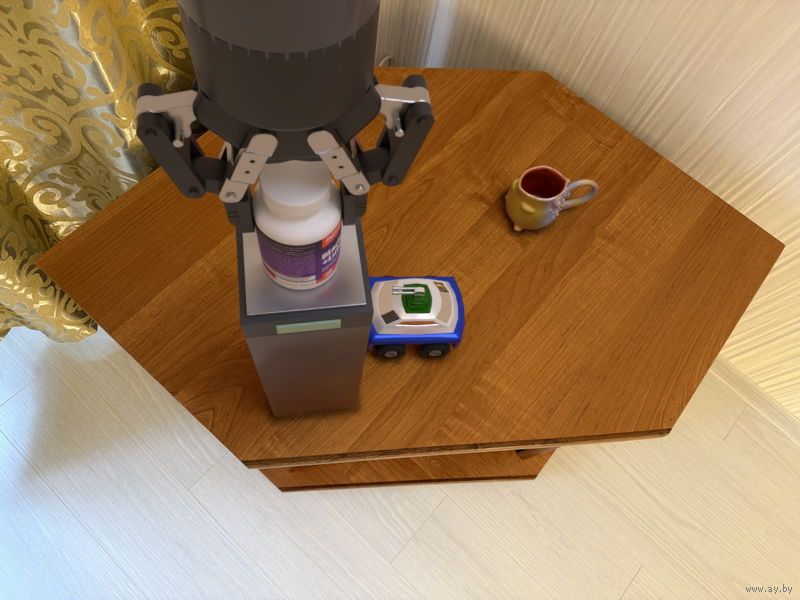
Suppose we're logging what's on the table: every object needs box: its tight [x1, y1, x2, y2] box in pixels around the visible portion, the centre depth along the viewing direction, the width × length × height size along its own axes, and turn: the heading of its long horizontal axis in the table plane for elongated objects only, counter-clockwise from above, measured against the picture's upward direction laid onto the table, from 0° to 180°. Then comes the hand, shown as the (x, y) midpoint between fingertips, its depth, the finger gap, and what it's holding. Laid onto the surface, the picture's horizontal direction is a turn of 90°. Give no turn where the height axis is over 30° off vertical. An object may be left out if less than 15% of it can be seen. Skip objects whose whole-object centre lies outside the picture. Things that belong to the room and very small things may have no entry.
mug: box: [504, 165, 600, 232], centre depth 77 cm, size 12×7×7 cm, turn 97°
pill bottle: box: [252, 160, 342, 290], centre depth 37 cm, size 5×5×10 cm
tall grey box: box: [235, 217, 374, 418], centre depth 55 cm, size 9×9×28 cm
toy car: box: [367, 275, 466, 359], centre depth 67 cm, size 9×12×10 cm
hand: (297, 216), depth 37 cm, fingers closed on pill bottle, 5 cm apart
